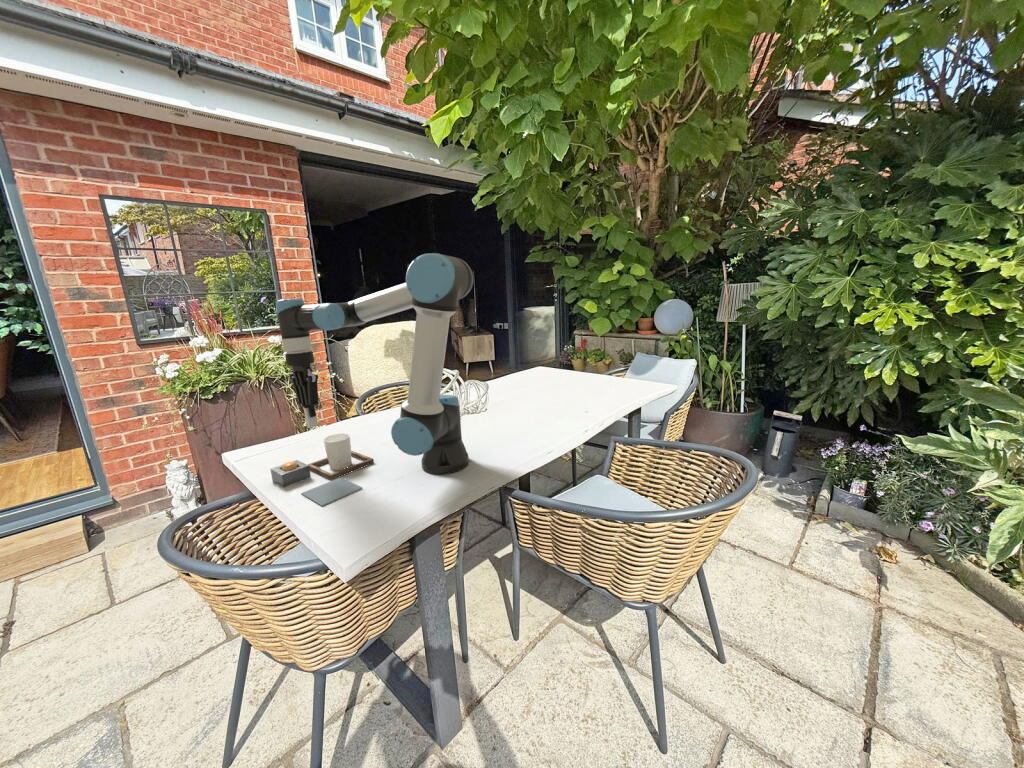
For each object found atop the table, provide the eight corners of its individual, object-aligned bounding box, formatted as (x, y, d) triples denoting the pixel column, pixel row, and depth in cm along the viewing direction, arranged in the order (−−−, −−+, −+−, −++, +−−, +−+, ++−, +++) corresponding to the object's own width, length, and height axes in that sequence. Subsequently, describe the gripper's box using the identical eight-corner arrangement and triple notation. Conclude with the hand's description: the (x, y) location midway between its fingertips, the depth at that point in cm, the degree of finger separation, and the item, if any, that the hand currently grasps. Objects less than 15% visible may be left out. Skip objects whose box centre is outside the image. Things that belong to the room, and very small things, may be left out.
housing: (310, 477, 124) (308, 465, 123) (283, 487, 118) (281, 475, 117) (299, 471, 129) (297, 459, 128) (272, 480, 123) (270, 468, 122)
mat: (362, 488, 115) (362, 487, 115) (322, 506, 106) (321, 505, 106) (341, 478, 122) (340, 477, 122) (301, 494, 113) (301, 493, 113)
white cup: (337, 473, 126) (333, 443, 124) (323, 468, 130) (318, 439, 128) (358, 463, 133) (354, 435, 130) (344, 459, 137) (340, 432, 135)
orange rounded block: (300, 475, 123) (298, 463, 122) (287, 480, 120) (285, 468, 119) (294, 472, 126) (292, 460, 125) (281, 477, 123) (279, 464, 122)
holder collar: (373, 463, 133) (373, 458, 132) (330, 480, 121) (330, 475, 121) (349, 453, 142) (349, 449, 141) (307, 468, 130) (306, 464, 130)
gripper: (322, 350, 118) (335, 425, 123) (300, 349, 125) (313, 420, 130) (296, 354, 112) (311, 433, 117) (275, 353, 120) (290, 427, 125)
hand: (312, 426), depth 124 cm, fingers closed
